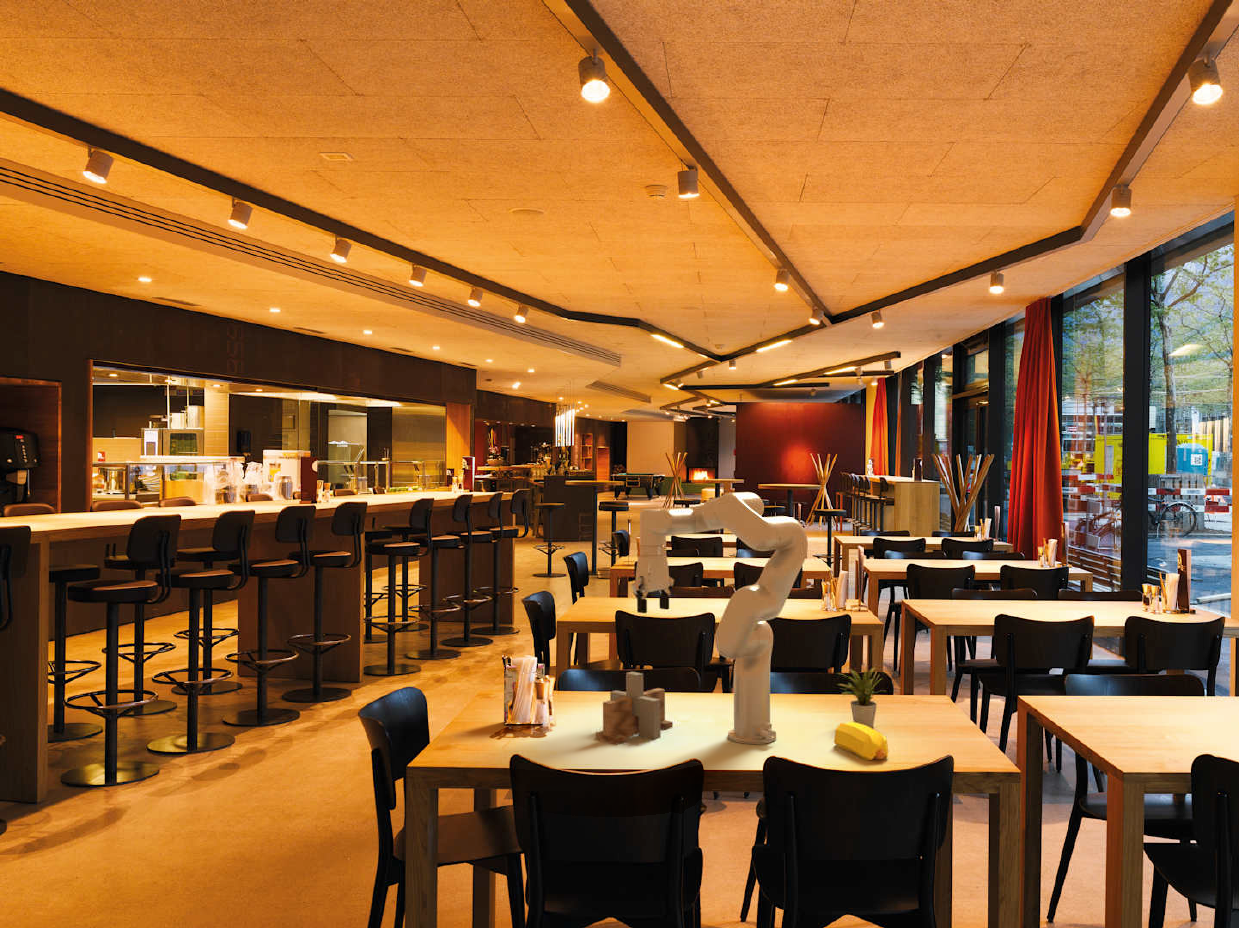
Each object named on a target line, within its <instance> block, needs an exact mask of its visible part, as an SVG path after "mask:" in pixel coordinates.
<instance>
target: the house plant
mask: <svg viewBox="0 0 1239 928" xmlns="http://www.w3.org/2000/svg"><path fill="white" fill-rule="evenodd" d="M847 669H848V670H850V672H851V674H852V675H853V676H852V677H850V676H847V675H845V674H843V673H840V672H838V673H837V674H838V675H842V676H841V677H842V678H843V677H844V678H845V679H847V680H848V681H849V682H850V683H849V682H848V683H847V684H844V683H837V685H838V686H841V687H844V688H841V687H840V689H842V690H845V691H843V692H841V695H842V697H844V696H846V695H849V694H850V695H852V697H853V698H855V699H856V700H852V701H850V708H851V713H852V720H853V721H852V722H855V723H859V724H862V725H866V726H868V727H870V728H872V729H873V727H874V723H875V717H876V711H877V706H878V703H877V702H875V701H874V700H873V699H874V697H875V696H874V695H876V694H877V693H879V692H886V690H884V689H882V690H877V691H874V689H875V687H876V686H877V685H878V684H879V682H880V681H881V680H882V678H880V679H878V678H879V677H880V674H878V675H877V670H876V672H875V673H874V670H875V669H876V668H875V667H873V668H871V669H870V670H869V671H868V672H867V670H868V669H867V667H865V669H864V673H863V676H862V679H861V677H860V675H859V674H858V673H857V671H855V670H854V669H853V670H852V669H851V668H849V667H847ZM873 673H874V674H873ZM872 674H873V677H872ZM876 676H877V677H876ZM847 677H848V678H847ZM871 678H872V679H871ZM851 681H852V682H853V683H852V682H851ZM847 689H849V690H851V691H847ZM852 691H853V692H852Z"/></svg>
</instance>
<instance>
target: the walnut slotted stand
mask: <svg viewBox="0 0 1239 928" xmlns="http://www.w3.org/2000/svg"><path fill="white" fill-rule="evenodd" d="M665 695H666V690H665V689H664V688H660V687H657V688H652V689H650V690H649V689H648V690H646V691H643V696H646V697H650V698H655V699H660V729H661V728H663V729H662V730H669V729H671V728H670V727H672V728H673V726H674V725H673V721H670V720H666V696H665ZM668 728H669V729H668ZM637 733H639V717H638V716H634V715H632V698H629V697H622V698H618V699H614V700H605V701H603V702H602V730H601V731H598V732H597V731H596V732H595V739H597V740H600V739H601V740H600V741H604V740H605V742H607V741H608V743H611V744H616V745H619V744H622V743H623V744H624V743H626V741H627V740H626V739H627V738H628V737H632V736H635V735H638V734H637ZM634 734H635V735H634Z"/></svg>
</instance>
